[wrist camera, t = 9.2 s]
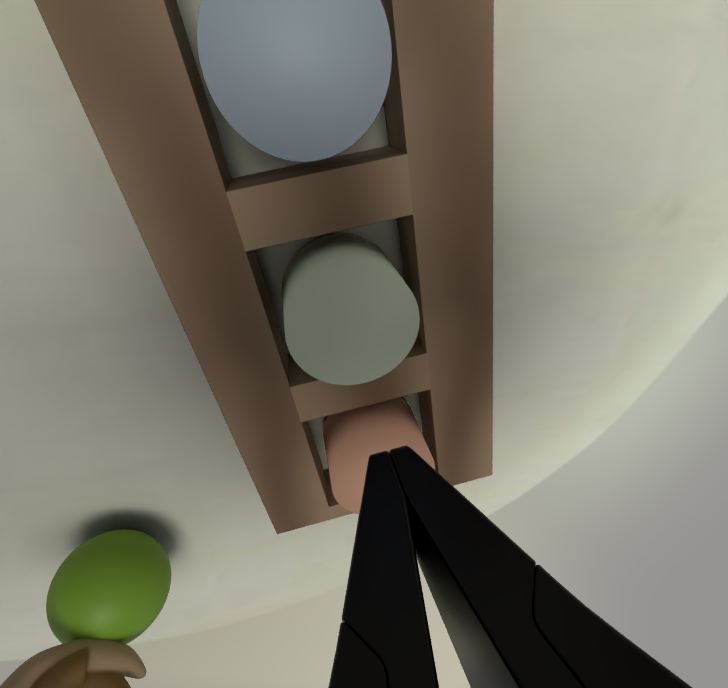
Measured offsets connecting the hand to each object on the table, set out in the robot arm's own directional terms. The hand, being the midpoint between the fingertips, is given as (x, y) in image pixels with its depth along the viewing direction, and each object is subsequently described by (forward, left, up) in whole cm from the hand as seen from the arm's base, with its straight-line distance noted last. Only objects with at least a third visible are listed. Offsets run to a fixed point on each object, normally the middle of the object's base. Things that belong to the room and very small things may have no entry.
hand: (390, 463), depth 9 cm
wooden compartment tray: (0, 0, -11) cm, 11 cm away
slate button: (0, +7, -10) cm, 13 cm away
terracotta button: (0, -9, -10) cm, 13 cm away
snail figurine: (-15, -12, -11) cm, 22 cm away
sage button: (0, -1, -10) cm, 10 cm away
